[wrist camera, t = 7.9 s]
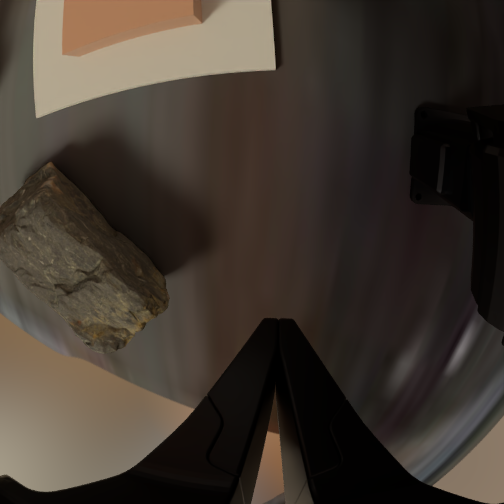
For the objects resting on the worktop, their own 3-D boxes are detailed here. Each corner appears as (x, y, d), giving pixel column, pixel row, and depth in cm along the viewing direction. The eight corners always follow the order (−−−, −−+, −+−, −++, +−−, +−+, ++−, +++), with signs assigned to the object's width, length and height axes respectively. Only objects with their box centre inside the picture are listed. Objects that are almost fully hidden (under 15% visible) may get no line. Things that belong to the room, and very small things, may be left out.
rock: (194, 257, 16) (135, 379, 18) (203, 232, 23) (153, 331, 25) (-12, 141, 13) (-37, 264, 15) (37, 144, 20) (7, 243, 21)
